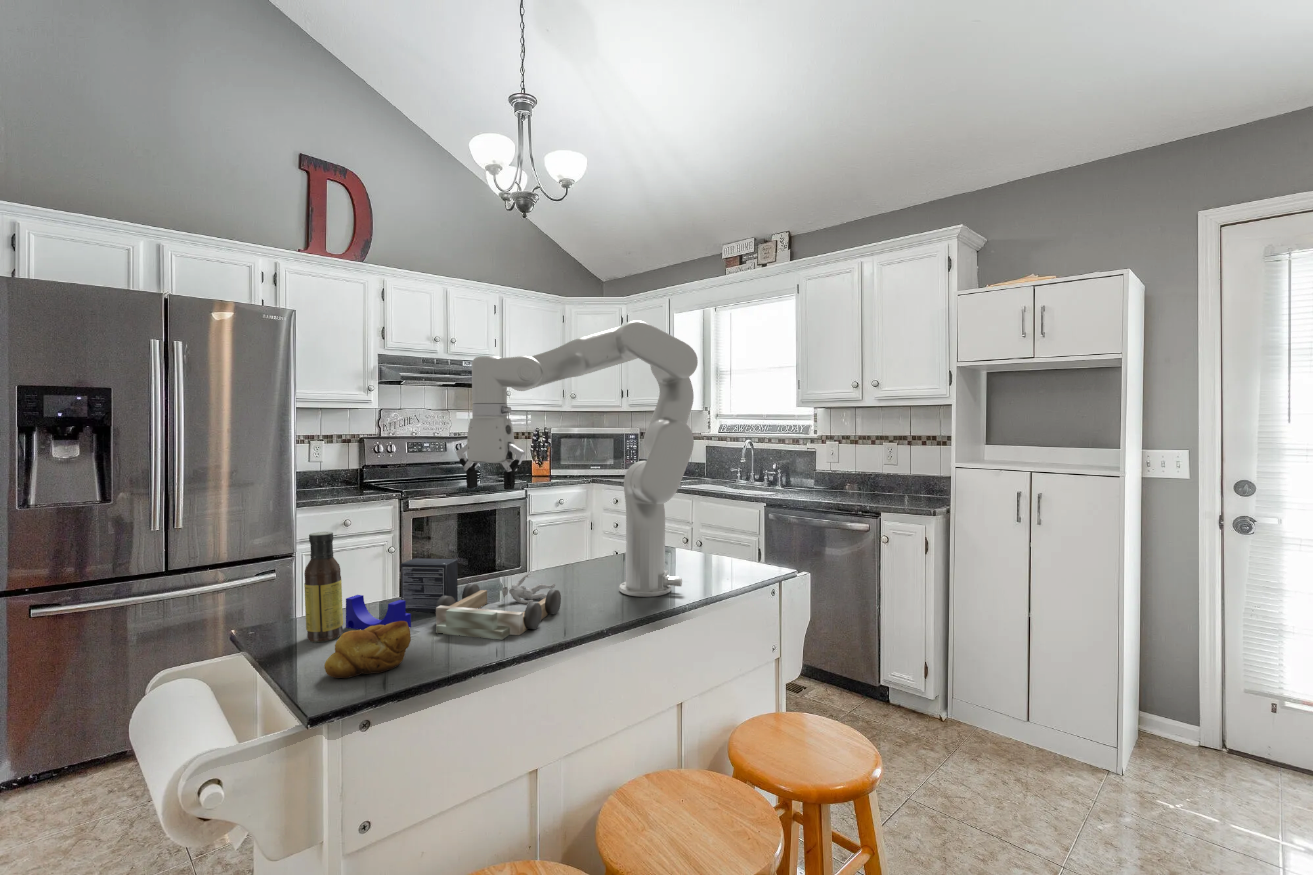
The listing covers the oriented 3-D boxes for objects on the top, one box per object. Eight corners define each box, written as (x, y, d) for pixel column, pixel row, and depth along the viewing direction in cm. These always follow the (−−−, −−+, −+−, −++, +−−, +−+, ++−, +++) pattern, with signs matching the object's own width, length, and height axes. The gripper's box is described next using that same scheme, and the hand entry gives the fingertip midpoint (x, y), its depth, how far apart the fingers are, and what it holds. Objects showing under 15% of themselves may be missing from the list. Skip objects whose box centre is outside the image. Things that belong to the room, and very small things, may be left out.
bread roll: (329, 688, 97) (329, 637, 96) (317, 669, 104) (317, 621, 104) (415, 669, 104) (415, 621, 104) (398, 652, 112) (398, 607, 112)
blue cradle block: (410, 628, 125) (410, 598, 125) (394, 635, 121) (394, 604, 121) (363, 621, 129) (363, 592, 129) (345, 628, 125) (345, 598, 125)
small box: (459, 604, 141) (459, 558, 141) (446, 613, 135) (446, 564, 135) (414, 603, 142) (414, 556, 142) (399, 611, 136) (399, 563, 136)
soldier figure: (558, 605, 145) (511, 597, 138) (547, 616, 147) (501, 608, 140) (555, 576, 150) (509, 567, 143) (544, 587, 152) (499, 578, 145)
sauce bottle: (346, 630, 123) (345, 529, 122) (338, 641, 117) (338, 534, 116) (310, 633, 121) (309, 530, 121) (300, 644, 115) (299, 536, 115)
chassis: (561, 609, 137) (561, 587, 137) (519, 641, 118) (519, 614, 117) (475, 602, 143) (475, 580, 142) (420, 631, 123) (420, 606, 123)
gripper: (532, 412, 141) (533, 488, 142) (467, 412, 147) (468, 485, 148) (514, 411, 134) (514, 491, 135) (446, 412, 140) (447, 489, 141)
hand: (490, 488), depth 141 cm, fingers open, 9 cm apart
